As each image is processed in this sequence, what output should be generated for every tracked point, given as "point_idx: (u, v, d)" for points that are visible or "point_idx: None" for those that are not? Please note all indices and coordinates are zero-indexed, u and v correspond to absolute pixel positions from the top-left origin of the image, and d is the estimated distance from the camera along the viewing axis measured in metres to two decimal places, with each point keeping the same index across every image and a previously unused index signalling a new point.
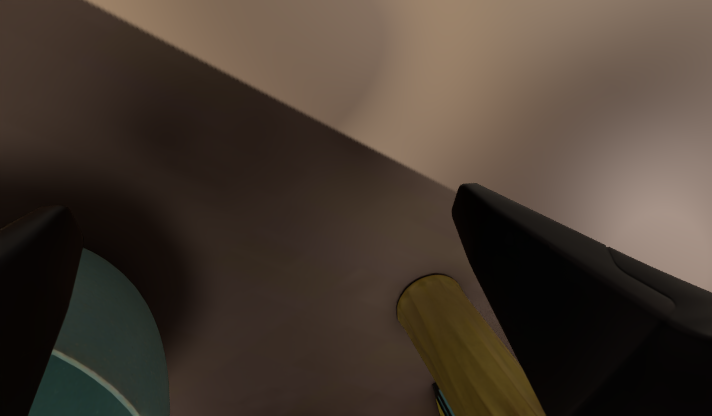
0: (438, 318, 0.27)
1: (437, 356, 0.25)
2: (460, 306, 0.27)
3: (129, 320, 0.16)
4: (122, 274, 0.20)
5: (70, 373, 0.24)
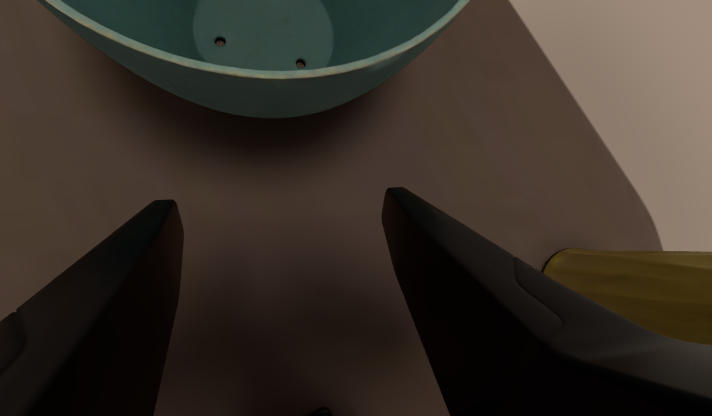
0: (625, 253, 0.22)
1: (645, 265, 0.19)
2: None
3: None
4: None
5: None
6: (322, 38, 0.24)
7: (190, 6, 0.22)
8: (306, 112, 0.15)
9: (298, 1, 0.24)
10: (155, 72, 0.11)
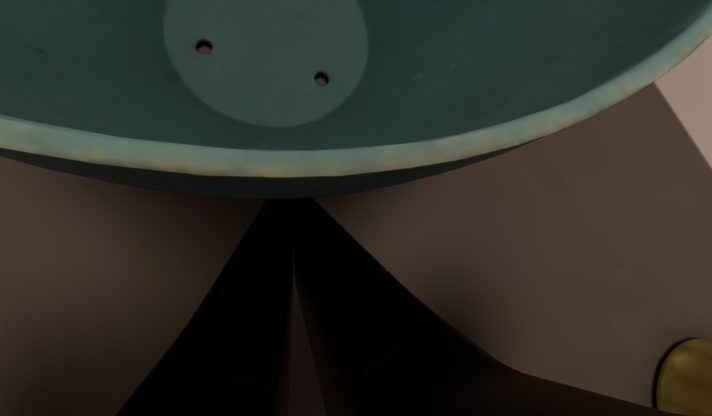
0: None
1: None
2: None
3: None
4: None
5: (210, 121, 0.13)
6: (352, 42, 0.16)
7: None
8: None
9: None
10: None
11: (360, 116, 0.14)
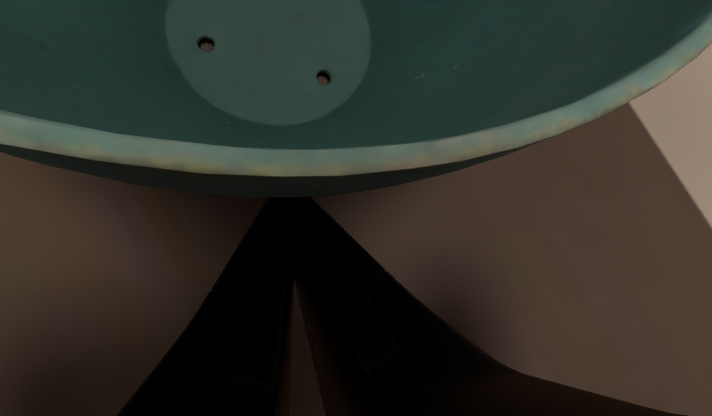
0: None
1: None
2: None
3: None
4: None
5: (211, 119, 0.13)
6: (355, 41, 0.16)
7: None
8: None
9: None
10: None
11: (362, 115, 0.14)
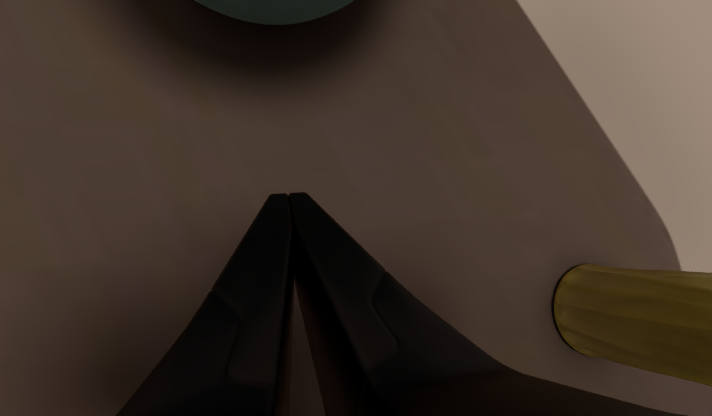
0: (646, 272, 0.21)
1: (669, 287, 0.18)
2: None
3: None
4: None
5: None
6: None
7: None
8: None
9: None
10: None
11: None
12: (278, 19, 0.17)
